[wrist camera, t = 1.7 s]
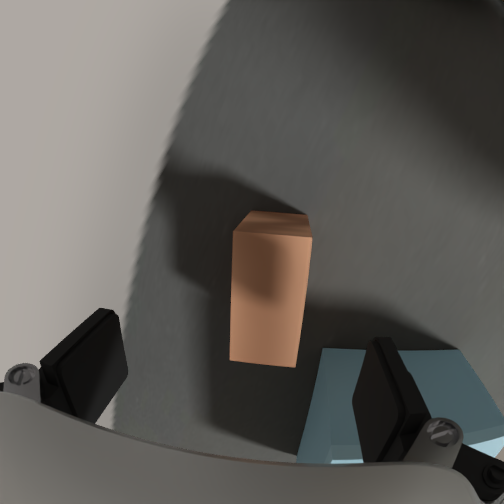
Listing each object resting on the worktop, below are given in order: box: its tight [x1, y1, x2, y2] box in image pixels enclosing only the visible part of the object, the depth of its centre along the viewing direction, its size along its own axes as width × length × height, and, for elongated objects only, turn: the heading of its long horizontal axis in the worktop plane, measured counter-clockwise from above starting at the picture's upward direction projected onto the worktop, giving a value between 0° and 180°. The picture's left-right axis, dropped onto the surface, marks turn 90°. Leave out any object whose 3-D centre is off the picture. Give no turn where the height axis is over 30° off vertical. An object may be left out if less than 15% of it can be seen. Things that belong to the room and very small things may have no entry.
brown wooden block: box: [230, 211, 312, 367], centre depth 17 cm, size 4×7×6 cm, turn 177°
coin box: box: [296, 348, 504, 464], centre depth 18 cm, size 12×14×10 cm
